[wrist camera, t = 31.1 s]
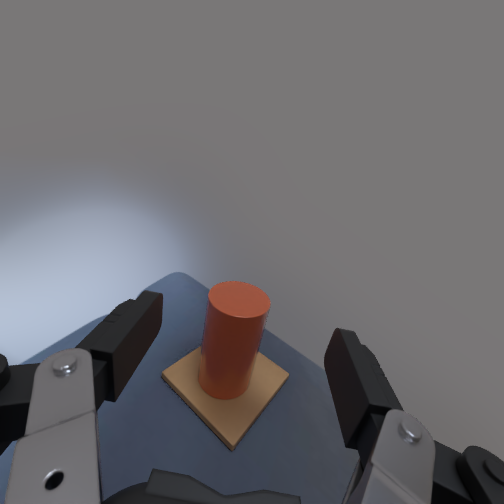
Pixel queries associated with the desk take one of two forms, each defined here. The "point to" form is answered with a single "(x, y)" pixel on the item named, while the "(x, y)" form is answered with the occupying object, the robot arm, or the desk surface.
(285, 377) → the plate
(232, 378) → the glossy red cylinder
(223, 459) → the desk surface
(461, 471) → the robot arm
